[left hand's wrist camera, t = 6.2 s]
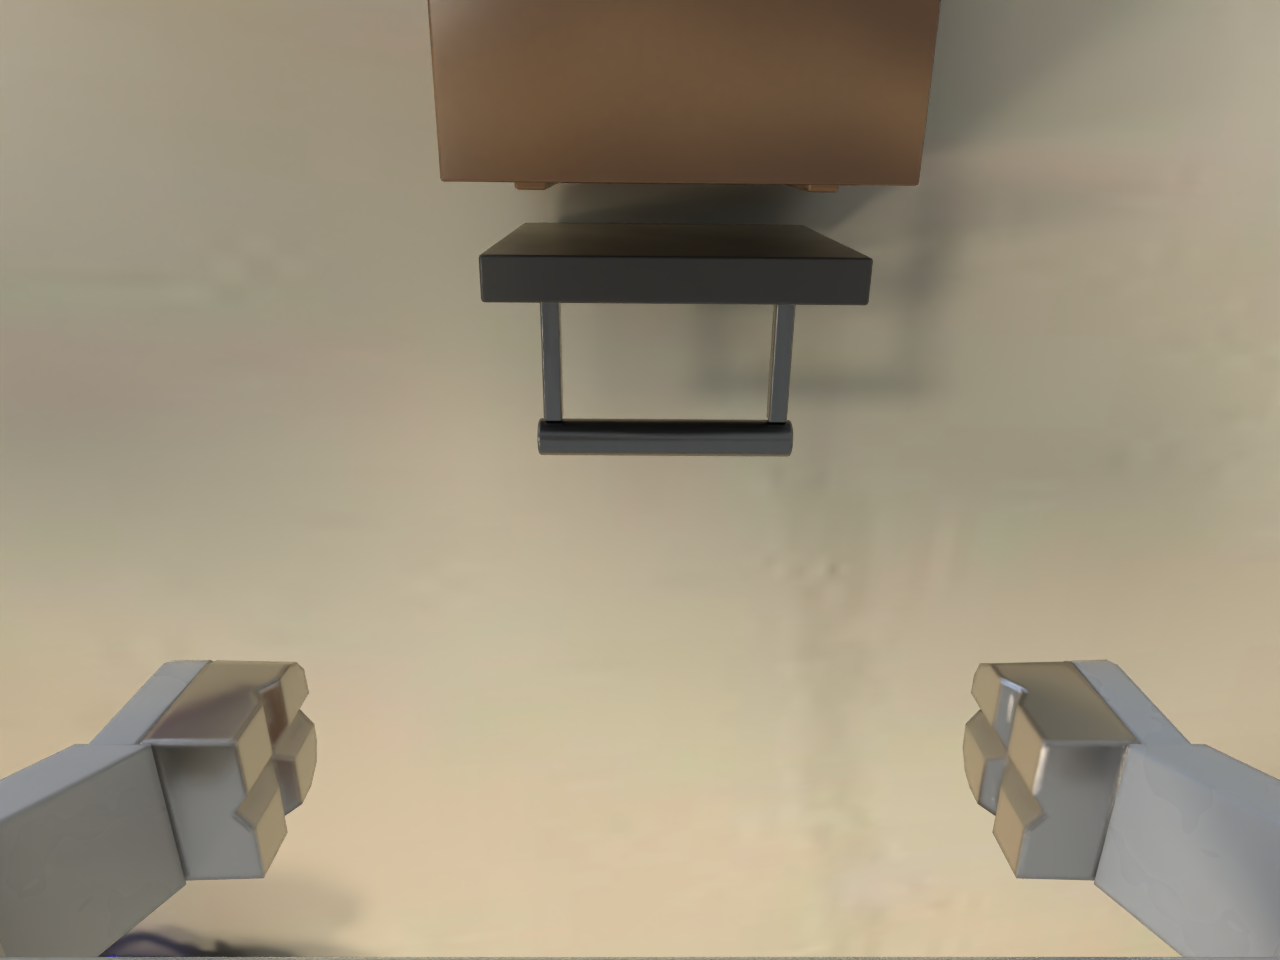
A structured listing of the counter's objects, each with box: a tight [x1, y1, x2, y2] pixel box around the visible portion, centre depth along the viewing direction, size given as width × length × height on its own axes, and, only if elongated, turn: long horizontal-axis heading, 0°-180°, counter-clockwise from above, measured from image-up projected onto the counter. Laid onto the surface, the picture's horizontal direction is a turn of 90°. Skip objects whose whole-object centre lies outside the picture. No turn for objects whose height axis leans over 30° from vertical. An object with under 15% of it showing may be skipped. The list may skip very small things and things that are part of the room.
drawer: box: [479, 182, 873, 456], centre depth 24 cm, size 23×10×10 cm, turn 0°
